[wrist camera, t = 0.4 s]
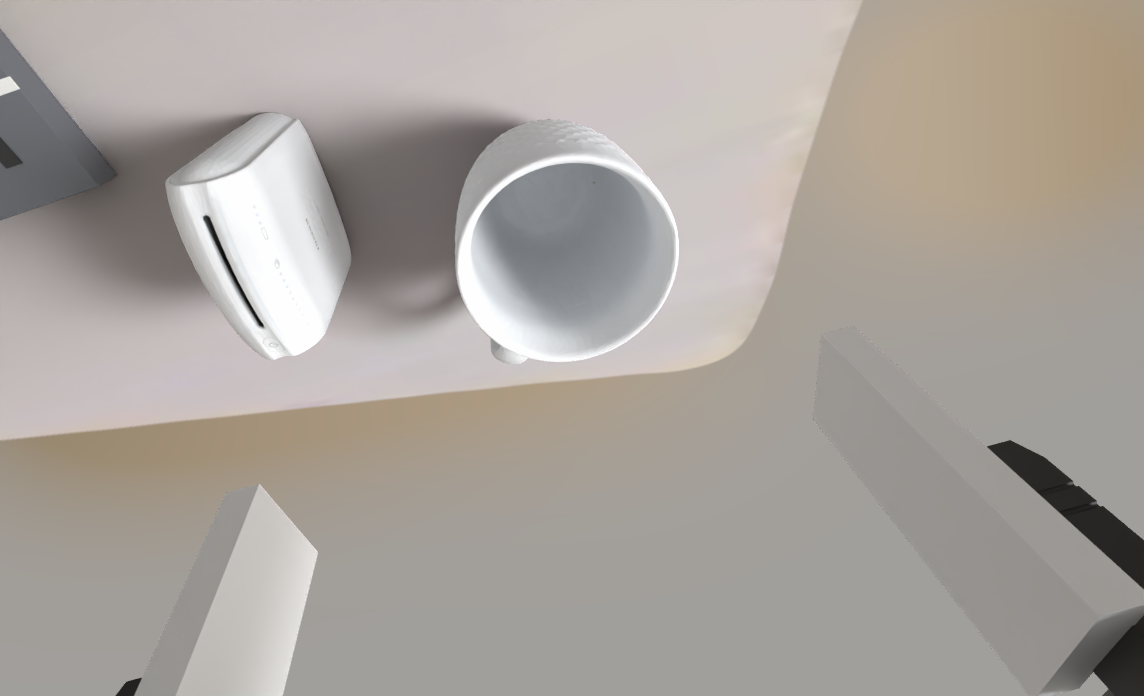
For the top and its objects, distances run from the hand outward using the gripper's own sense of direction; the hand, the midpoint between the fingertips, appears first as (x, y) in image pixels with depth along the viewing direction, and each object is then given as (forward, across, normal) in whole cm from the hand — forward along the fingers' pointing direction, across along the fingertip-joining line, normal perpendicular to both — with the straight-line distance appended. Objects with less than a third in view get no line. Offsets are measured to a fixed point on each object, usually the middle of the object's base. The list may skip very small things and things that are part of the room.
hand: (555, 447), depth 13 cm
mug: (+27, +2, -4) cm, 27 cm away
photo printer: (+27, -13, 0) cm, 30 cm away
